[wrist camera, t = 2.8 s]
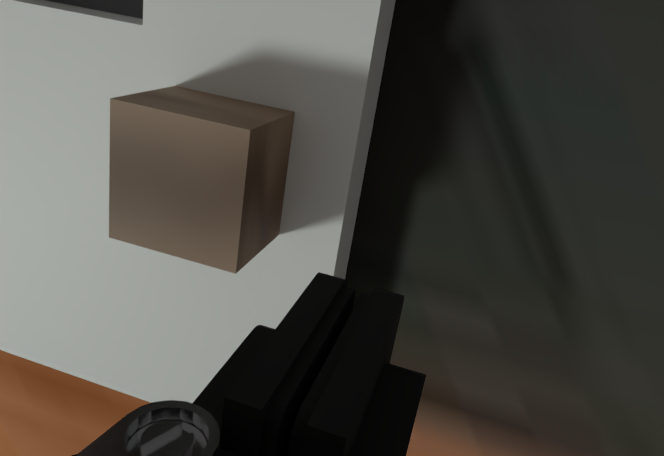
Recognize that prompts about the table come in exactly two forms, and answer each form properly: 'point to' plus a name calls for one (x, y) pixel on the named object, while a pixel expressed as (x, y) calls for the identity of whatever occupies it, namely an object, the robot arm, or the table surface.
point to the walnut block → (197, 174)
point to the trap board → (93, 176)
